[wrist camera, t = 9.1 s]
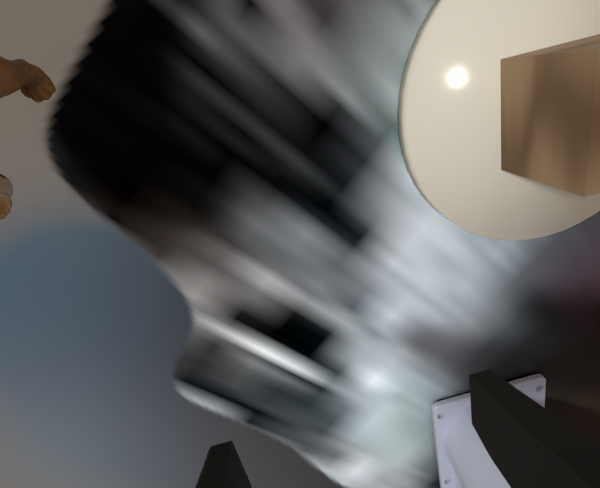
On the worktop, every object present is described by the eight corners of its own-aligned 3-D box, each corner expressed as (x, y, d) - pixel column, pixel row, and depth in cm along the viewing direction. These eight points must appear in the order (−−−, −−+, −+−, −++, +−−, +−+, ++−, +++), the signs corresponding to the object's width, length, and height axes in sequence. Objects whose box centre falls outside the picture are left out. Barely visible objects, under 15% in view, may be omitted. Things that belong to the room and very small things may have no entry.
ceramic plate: (646, 197, 22) (668, 203, 21) (412, 259, 21) (421, 269, 20) (695, -113, 16) (729, -127, 15) (378, -36, 16) (388, -45, 14)
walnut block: (597, 144, 19) (710, 163, 14) (501, 169, 19) (584, 197, 14) (608, 32, 17) (744, 11, 12) (500, 59, 16) (597, 49, 12)
